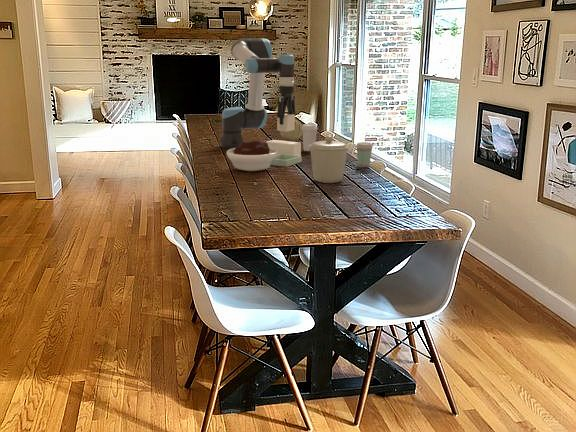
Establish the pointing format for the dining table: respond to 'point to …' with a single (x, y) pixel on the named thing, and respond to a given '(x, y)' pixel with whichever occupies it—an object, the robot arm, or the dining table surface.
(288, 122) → the stub
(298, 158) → the stub tray
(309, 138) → the coffee cup
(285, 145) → the ticket bar
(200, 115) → the dining table surface
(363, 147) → the coffee cup
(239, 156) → the white serving bowl
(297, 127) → the cantaloupe
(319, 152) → the canister
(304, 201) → the dining table surface
